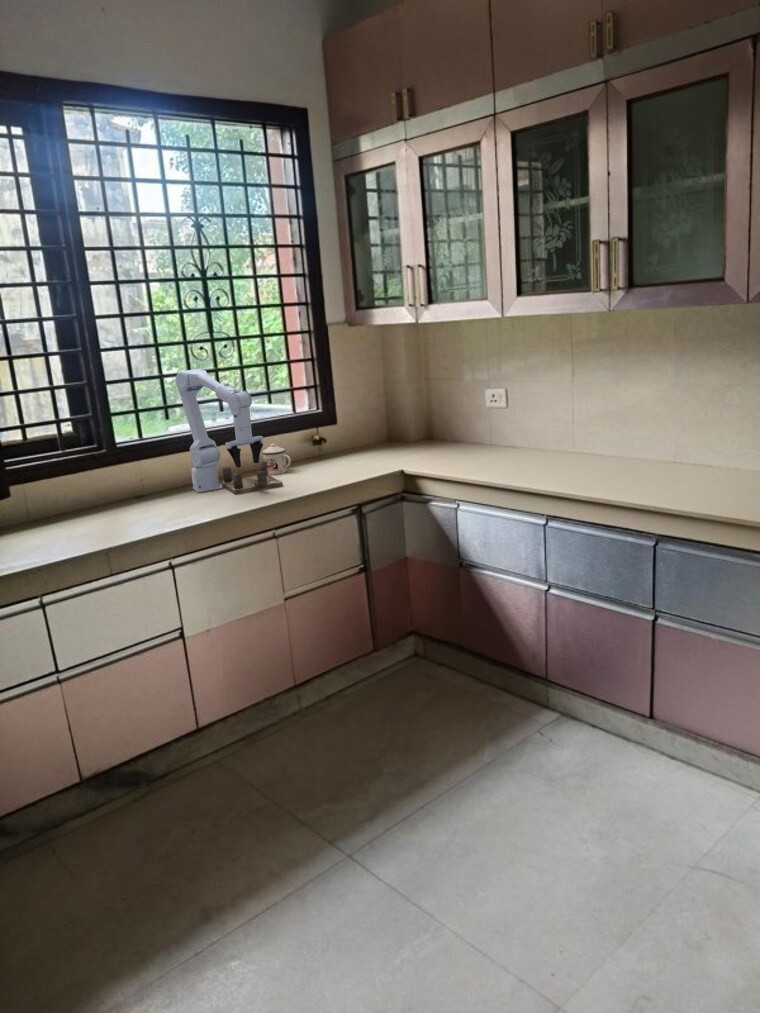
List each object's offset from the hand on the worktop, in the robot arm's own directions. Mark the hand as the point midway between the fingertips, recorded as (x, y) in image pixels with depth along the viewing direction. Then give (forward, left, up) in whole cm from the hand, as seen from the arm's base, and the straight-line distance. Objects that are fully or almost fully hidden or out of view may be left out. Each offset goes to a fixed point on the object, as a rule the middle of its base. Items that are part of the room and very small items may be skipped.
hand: (247, 465), depth 274 cm
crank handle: (+4, +1, -8) cm, 9 cm away
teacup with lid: (+20, +28, -11) cm, 36 cm away
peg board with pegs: (+4, +12, -10) cm, 16 cm away
